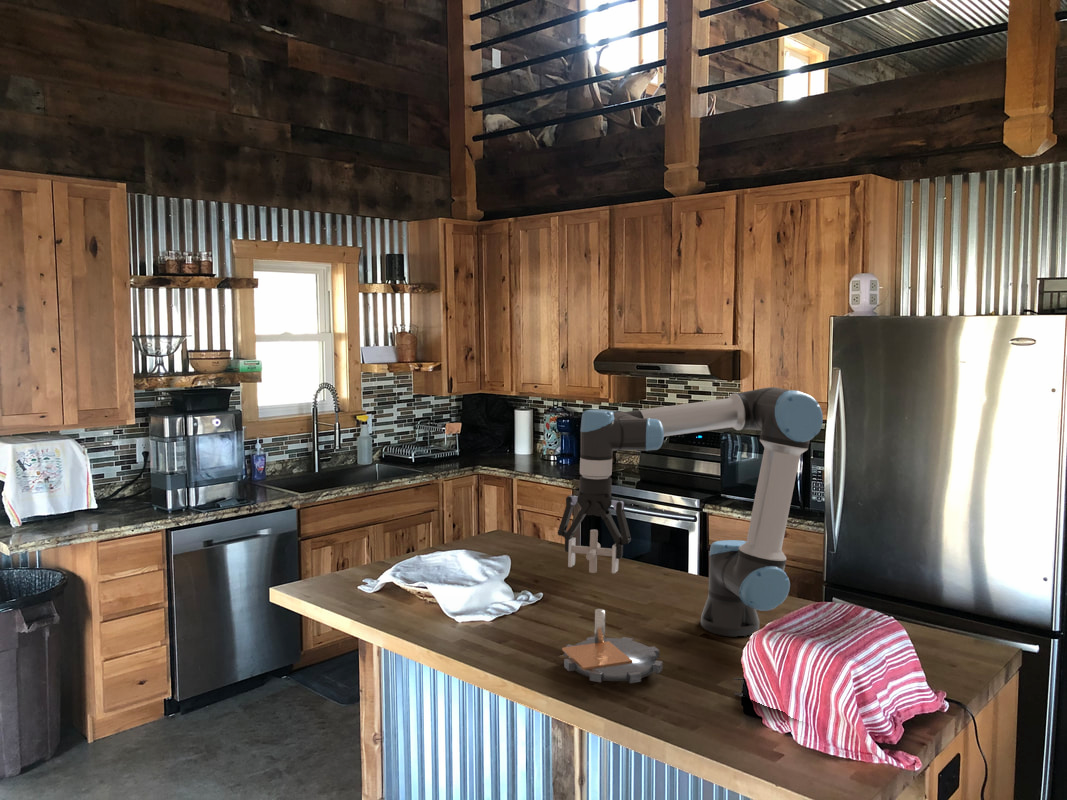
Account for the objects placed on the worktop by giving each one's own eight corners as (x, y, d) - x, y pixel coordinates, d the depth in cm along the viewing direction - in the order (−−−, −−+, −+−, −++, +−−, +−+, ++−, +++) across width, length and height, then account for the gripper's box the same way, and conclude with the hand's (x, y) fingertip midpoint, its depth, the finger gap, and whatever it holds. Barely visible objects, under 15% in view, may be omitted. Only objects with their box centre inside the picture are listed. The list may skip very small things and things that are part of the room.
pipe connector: (610, 580, 196) (612, 537, 195) (568, 575, 198) (569, 533, 197) (616, 567, 205) (618, 527, 204) (576, 564, 208) (577, 523, 207)
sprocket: (633, 638, 211) (634, 599, 210) (681, 675, 189) (683, 632, 188) (547, 650, 203) (548, 609, 202) (587, 690, 181) (588, 645, 180)
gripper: (647, 477, 199) (643, 570, 201) (556, 469, 207) (554, 558, 209) (638, 483, 192) (634, 579, 194) (544, 474, 200) (542, 566, 203)
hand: (593, 568), depth 202 cm, fingers closed on pipe connector, 10 cm apart
